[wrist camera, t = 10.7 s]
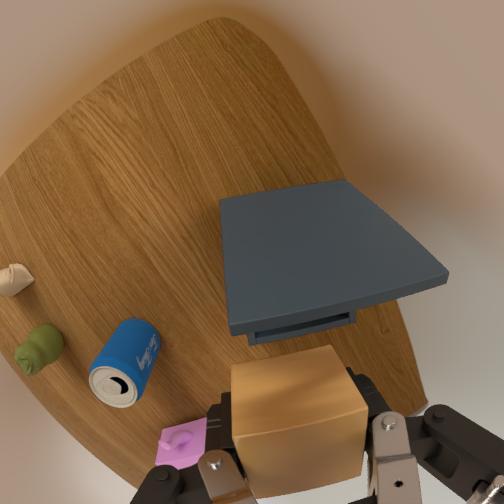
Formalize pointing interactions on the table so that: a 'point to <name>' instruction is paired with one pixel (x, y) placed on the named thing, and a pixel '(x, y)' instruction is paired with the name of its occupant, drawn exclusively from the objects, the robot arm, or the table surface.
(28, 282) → the decorative ornament
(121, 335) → the beverage can
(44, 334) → the olive green lumpy piece
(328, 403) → the block
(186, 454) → the teapot
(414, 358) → the table surface
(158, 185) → the table surface
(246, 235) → the lid
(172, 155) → the table surface
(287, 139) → the table surface
